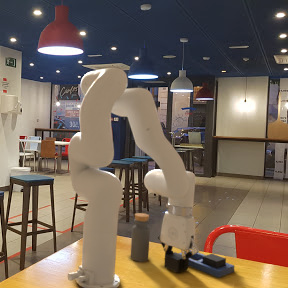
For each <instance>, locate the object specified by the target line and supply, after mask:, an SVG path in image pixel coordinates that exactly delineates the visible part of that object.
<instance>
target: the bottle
mask: <svg viewBox="0 0 288 288" xmlns="http://www.w3.org/2000/svg"><path fill="white" fill-rule="evenodd" d="M149 218H150V215H149V214H147V213H143V212H136V213H134V218H133V223H134V225H133V226H132V228H131V238H130V239H131V240H130V259H131V260H132V261H133V262H139V263H144V262H147V261H148V260H149V252H150V238H151V237H150V235H151V233H150V232H151V228H150V226H148V225H150V220H149Z"/></svg>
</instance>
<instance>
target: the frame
mask: <svg viewBox="0 0 288 288" xmlns="http://www.w3.org/2000/svg"><path fill="white" fill-rule="evenodd" d="M191 250H192V249H190V251H191ZM177 253H178V254H181V255H182V253H181V252H177ZM206 255H207V254H203V253H201V252H198V253H196V254H194V255H193V256H191V257H190V258H189V262H188V267H191V268H193V269H195V270H198V271H201V272H203V273H206V274H208V275H211V276H213V277H216V278H217V279H218V278H222V277H224V276H227V275H229V274H233V273H234V272H235V265H234V264H231V263H229V262H226V265H225V266H224V267H221V268H218V269H216V268H214V267H211V266H209V265H206V264H203V256H206Z"/></svg>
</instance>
